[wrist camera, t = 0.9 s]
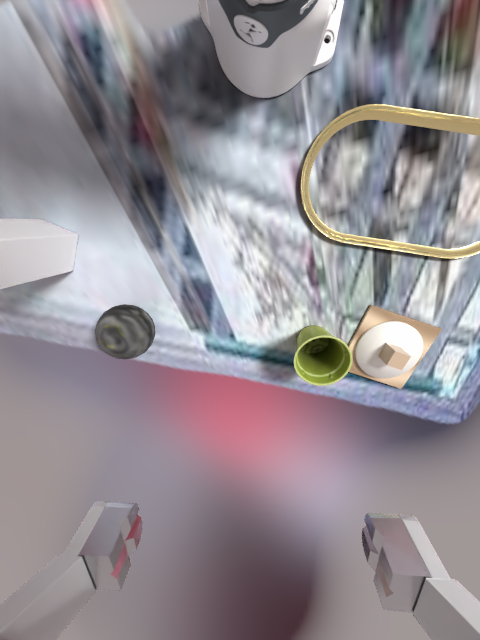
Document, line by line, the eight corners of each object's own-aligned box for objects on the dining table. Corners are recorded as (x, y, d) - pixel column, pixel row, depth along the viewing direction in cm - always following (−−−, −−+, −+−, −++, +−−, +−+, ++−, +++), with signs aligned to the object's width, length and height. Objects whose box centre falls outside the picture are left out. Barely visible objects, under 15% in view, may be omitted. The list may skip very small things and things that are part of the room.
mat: (370, 304, 46) (371, 305, 46) (439, 328, 47) (441, 329, 46) (336, 366, 51) (337, 368, 51) (399, 387, 52) (401, 388, 52)
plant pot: (301, 367, 52) (308, 393, 44) (280, 330, 50) (284, 351, 41) (344, 348, 50) (361, 372, 42) (324, 308, 47) (338, 326, 39)
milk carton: (74, 271, 48) (-34, 298, 30) (37, 256, 48) (-94, 275, 30) (79, 234, 46) (-34, 241, 28) (41, 218, 45) (-100, 215, 27)
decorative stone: (125, 288, 49) (93, 303, 39) (171, 315, 50) (151, 336, 41) (107, 328, 52) (74, 351, 43) (150, 352, 53) (127, 379, 44)
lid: (373, 312, 46) (384, 320, 42) (433, 332, 47) (450, 342, 43) (344, 365, 51) (351, 377, 47) (399, 383, 51) (411, 397, 47)
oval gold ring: (491, 265, 43) (499, 267, 42) (288, 234, 44) (289, 234, 42) (557, 135, 36) (569, 131, 35) (315, 99, 37) (317, 94, 35)
